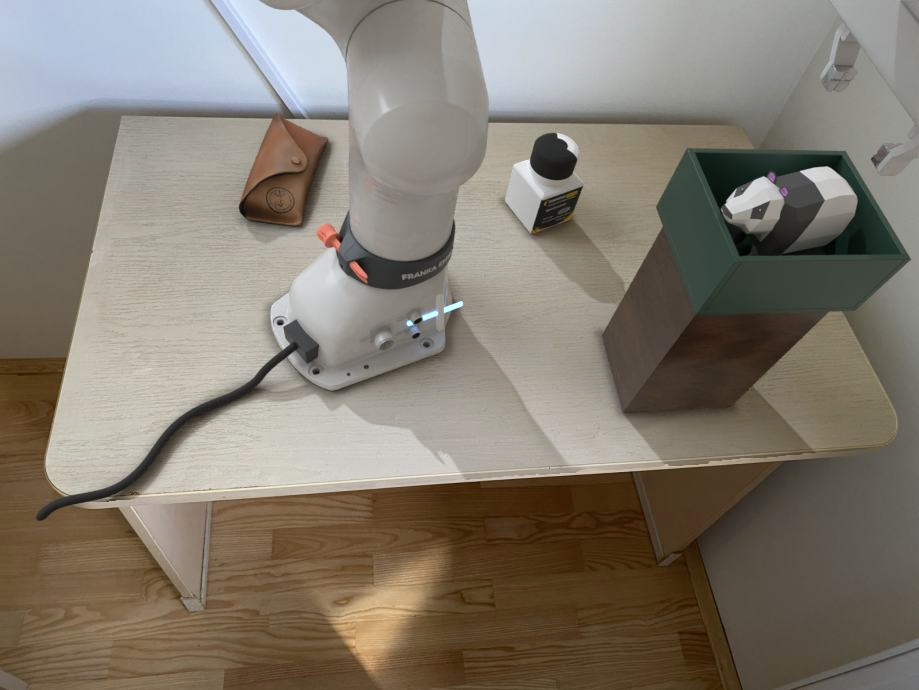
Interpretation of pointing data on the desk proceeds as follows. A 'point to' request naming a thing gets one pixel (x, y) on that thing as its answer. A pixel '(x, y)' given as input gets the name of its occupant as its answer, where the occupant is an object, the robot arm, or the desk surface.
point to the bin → (771, 277)
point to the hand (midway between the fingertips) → (855, 125)
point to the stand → (689, 343)
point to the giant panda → (790, 211)
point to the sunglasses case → (282, 174)
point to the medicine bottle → (546, 183)
